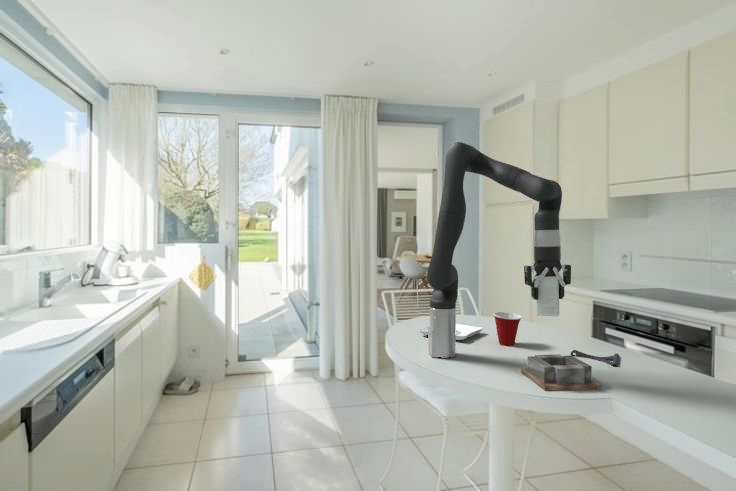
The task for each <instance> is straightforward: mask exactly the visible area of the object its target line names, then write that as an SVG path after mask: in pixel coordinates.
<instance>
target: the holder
mask: <svg viewBox="0 0 736 491" xmlns="http://www.w3.org/2000/svg"><path fill="white" fill-rule="evenodd" d="M526 366H527V368H522V367H521V368H520V373H521V374H522V375H523V376H525V377H527V378H528V379H529V380H530V381H531V382H533V383H534V384H535V385H537V386H538V387H540V388H541V389H542V390H543V391H572V390H573V391H574V390H575V391H577V390H601V384H600V383H598V382H596V381H594V380H592V378H593V376H592V375H593V374H592V370H593V369H592V365H590V364H588V363H586V362H585V361H582V360H581V359H579V358H578V357H575V356H571V355H562V354H558V353H557V354H534V356H533V355H531V356H529V355H528V356H527V364H526Z"/></svg>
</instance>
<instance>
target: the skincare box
mask: <svg viewBox="0 0 736 491" xmlns="http://www.w3.org/2000/svg"><path fill="white" fill-rule="evenodd" d="M536 277H539V276H536ZM537 288H538V300H535V301H536V316H541V317H555V318H556V317H559V316H560V313H561V312H560V299H559V282H558V277H557V276H551V277H544V278H543V280H542V281H541V282H540V283H539V285H538V287H537Z"/></svg>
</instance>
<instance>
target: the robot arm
mask: <svg viewBox="0 0 736 491" xmlns="http://www.w3.org/2000/svg"><path fill="white" fill-rule="evenodd" d="M445 155H446V156H445V163H444V178H443V179H444V180H443V188H442V193H441V198H440V199H441V201H440V205H439V211H438V217H437V222H436V229H435V230H436V231H435V236H434V244H433V250H432V254H431V258H430V261H429V264H428V268H427V272H426V279H427V282H428V284H429V286H430V287H431V288H432V290H433V292H432V295H431V297H430V298H429V299H430V300H429V326H430V327H428V337H427V338H428V339H427V340H428V342H427V344H428V346H427V347H428V349H427V351H428V352H429V353H428V354H429V356H430V355H431V356H430V357H431V358H438V357H441V358H440V359H450V358H449V357H451V358H454V357H456V350H457V349H456V347H457V346H456V343H457V341H456V324H457V323H456V322H457V321H456V314H457V311H456V310H457V307H456V306H457V300H458V294H459V291H458V289H459V274H458V270H457V268H456V267H455V266H454V264H453V256H454V253H455V249H456V246H457V244H458V242H459V240H460V238H461V235H462V233H463V230H464V227H465V226H464V225H465V220H466V214H467V202H466V198H465V192H464V180H465V175H466V172H467V173H471V174H472V173H473V174H476V175H477V174H478V175H480V176H484V177H486V178H489V179H490V180H492V181H494V182H496V183H497V184H499V185H500V186H503V187H505V188H508V189H510V190H512V191H515V192H517V193H521V194H522V195H524V196H526V197H528V198H530V199H532V200H534V201H536V202H538V210H537V212H535V214H534V218H533V219H534V220H533V221H534V223H533V224H534V233H533V259H534V260H533V261H534V263H533V265H524V266H523V271H524V272H523V273H524V276H523V277H524V284H525V285H526V286H529V287H530V292H531V293H530V295H531V298H532V299H533V300H534V301H536V300H538V288H537V287H538V285H539V283H540V282H541V281H542V280H543V278H544V277H551V276H557V277H558V282H559V300H563V299H564V297H565V286H567V285H571V283H572V265H571V264H562V263H561V260H562V257H561V256H562V255H561V250H562V247H561V232H560V212H561V206H562V201H563V200H562V199H563V190H562V186H561V185H560V184H559V183H558V181H556V180H552V179H547V178H545V177H543V176H542V177H541V176H539V175H535V174H533V173H531V172H529V171H528V170H525V169H523V168H521V167H518V166H516V165H512V164H509V163H506V162H502V161H499V160H496V159H493V158H492V157H490V156H488V155H487V154H484V153H483V152H481V151H480V150H478V149H477V148H475V146H473V145H470V144H467V143H465V142H461V141H457V142H454V143H452V144H451V145H450V146H449V147H448V149H447V151H446V154H445ZM560 271H561V272H562V275H561V274H560ZM533 272H535V273H534V277H533V275H532V273H533ZM536 276H539V277H536Z"/></svg>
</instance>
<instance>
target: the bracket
mask: <svg viewBox="0 0 736 491" xmlns="http://www.w3.org/2000/svg"><path fill="white" fill-rule="evenodd" d="M570 356H573V357H575V358H584V359H590V360H591V359H592V360H596V361H599V362H601V363H602V362H603V363H604V364H607V365H609V366H610V365H611V366H610V367H612V366H613V365H614V366H616V368H619V363H618V362H620V355H619V353H614V355H610V356H609V355H608V356H596V355H592V354H588V353H585V352H582V351H579V350H576V349H573V350H572V351H571V352H570ZM612 361H613V362H612ZM614 366H613V367H614Z"/></svg>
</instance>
